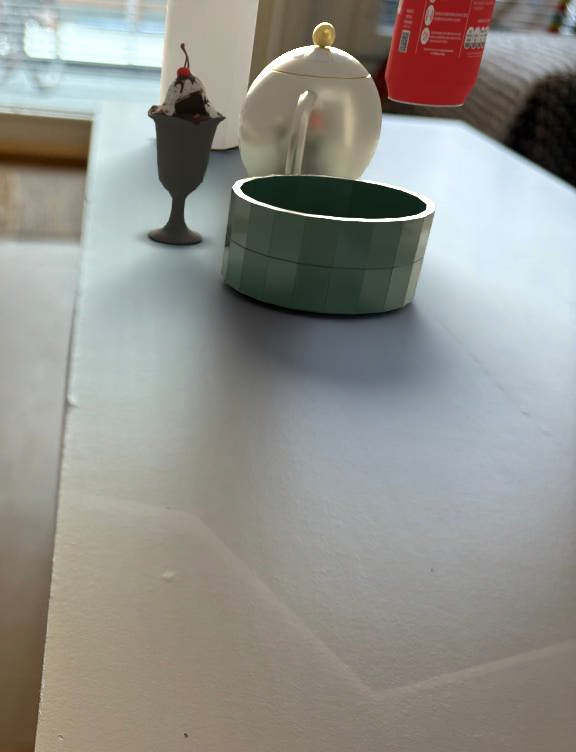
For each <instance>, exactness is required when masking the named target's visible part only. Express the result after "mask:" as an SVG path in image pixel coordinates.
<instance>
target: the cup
mask: <svg viewBox="0 0 576 752" xmlns="http://www.w3.org/2000/svg"><path fill="white" fill-rule="evenodd" d="M259 2H260V0H166V12H165V21H164V22H165V23H164V38H163V48H162V60H161V73H160V86H159V99H158V106H159V105H161V104H162V103H163V102H164V101H165V97H166V93H167V91H168V88H169V86H170V85H171V83H172V82H173V81H174V80H175V79H176V78H177V70H178V69H179V68H181V67H184V64H185V60H186V55H185V53H184V52H183V50H182V49H181V47H180V46H181V44H182V43H184V44H185V45H184V46H185V47H184V48H185V50H186V52H187V55H188V59H189V70H190V72H191V74H192V75H194V76H195V77H197V78H198V79H199V80H200V81H201V82H202V84H203V85H204V87H205V90H206V95H207V97H208V100H209V101H210V102H211V104H212V105H213V106H214V108H215V109H216V111H217V112H218V113H221V114H222V116H224V117H226V119H225V120H223V121H221V122H220V123H219V124H218V126H217V129H216V132H215V136H214V139H213V142H212V147H211V151H226V150H230V149H235V148H239V144H238V123H239V117H240V112H241V108H242V105H243V102H244V99H245V97H246V95H247V93H248V91H249V82H250V75H251V66H252V57H253V50H254V42H255V35H256V27H257V18H258V12H259V11H258V10H259V4H260V3H259ZM186 67H187V64H186Z"/></svg>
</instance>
